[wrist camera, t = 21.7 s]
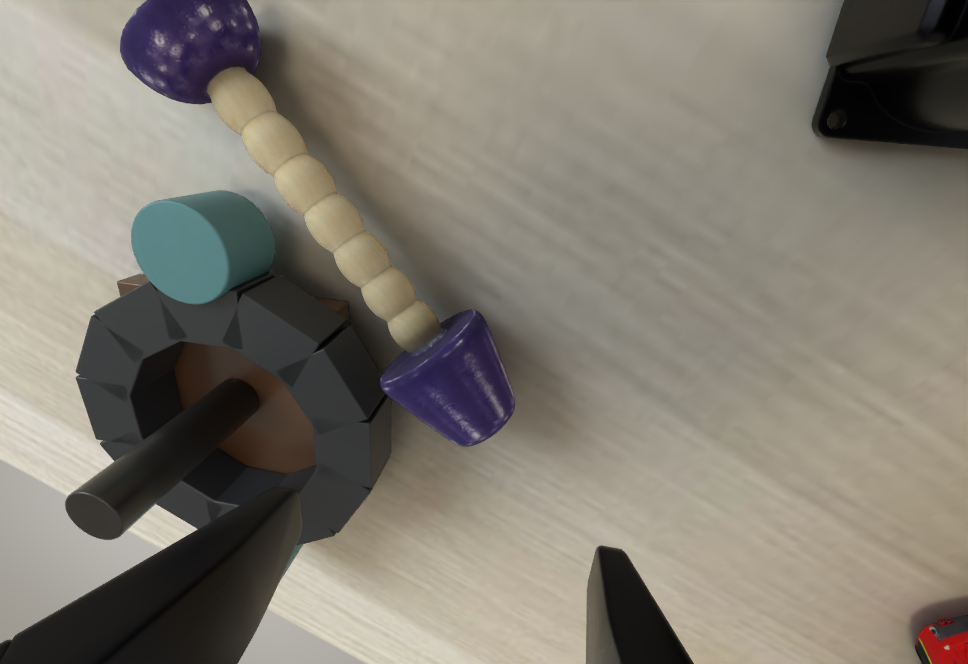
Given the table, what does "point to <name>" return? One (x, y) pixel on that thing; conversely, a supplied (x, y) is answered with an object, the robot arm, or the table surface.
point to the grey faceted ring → (251, 332)
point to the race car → (944, 642)
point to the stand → (200, 433)
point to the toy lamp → (323, 211)
